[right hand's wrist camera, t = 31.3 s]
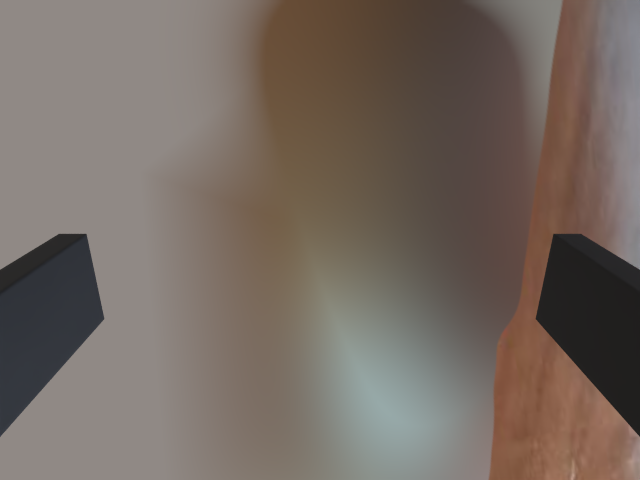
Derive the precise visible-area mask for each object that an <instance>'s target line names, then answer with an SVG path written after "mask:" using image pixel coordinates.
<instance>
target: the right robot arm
mask: <svg viewBox="0 0 640 480" xmlns="http://www.w3.org/2000/svg"><path fill="white" fill-rule="evenodd" d="M103 320H104V316H103V311H102V306H101V301H100V296H99V292H98V287H97V282H96V277H95V272H94V268H93V263H92V258H91V254H90V249H89V244H88V239H87V235H86V234H58V235H57V236H55V237H53V238H52V239H50V240H48V241H47V242H45V243H44V244H42V245H40V246H39V247H37V248H35V249H34V250H32V251H30V252H29V253H27V254H25V255H24V256H22V257H21V258H19V259H17V260H16V261H14V262H12V263H11V264H9V265H7V266H6V267H4V268H2V269H1V270H0V436H1V435H2V434H3V433H4V432H5V431H6V429H7V428H8V427H9V426H10V425H11V424H12V423H13V422H14V420H15V419H16V418H17V417H18V416H19V415H20V414H21V413H22V411H23V410H24V409H25V408H26V407H27V406H28V405H29V404H30V402H31V401H32V400H33V399H34V398H35V397H36V396H37V394H38V393H39V392H40V391H41V390H42V389H43V388H44V387H45V385H46V384H47V383H48V382H49V381H50V380H51V379H52V377H53V376H54V375H55V374H56V373H57V372H58V371H59V370H60V368H61V367H62V366H63V365H64V364H65V363H66V362H67V360H68V359H69V358H70V357H71V356H72V355H73V354H74V353H75V351H76V350H77V349H78V348H79V347H80V346H81V345H82V344H83V342H84V341H85V340H86V339H87V338H88V337H89V336H90V335H91V333H92V332H93V331H94V330H95V329H96V328H97V327H98V325H99V324H100V323H101V322H102V321H103ZM536 320H537V321H538V322H539V323H540V324H541V325H542V327H543V328H544V329H545V330H546V331H547V332H548V333H549V335H550V336H551V337H552V338H553V339H554V340H555V341H556V342H557V344H558V345H559V346H560V347H561V348H562V349H563V350H564V351H565V353H566V354H567V355H568V356H569V357H570V358H571V359H572V361H573V362H574V363H575V364H576V365H577V366H578V367H579V368H580V370H581V371H582V372H583V373H584V374H585V375H586V376H587V378H588V379H589V380H590V381H591V382H592V383H593V384H594V385H595V387H596V388H597V389H598V390H599V391H600V392H601V393H602V394H603V396H604V397H605V398H606V399H607V400H608V401H609V402H610V404H611V405H612V406H613V407H614V408H615V409H616V410H617V411H618V413H619V414H620V415H621V416H622V417H623V418H624V419H625V420H626V422H627V423H628V424H629V425H630V426H631V427H632V428H633V430H634V431H635V432H636V433H637V434H638V435H639V436H640V270H639V269H638V268H636V267H634V266H633V265H631V264H629V263H628V262H626V261H624V260H623V259H621V258H619V257H618V256H616V255H615V254H613V253H611V252H610V251H608V250H606V249H605V248H603V247H601V246H600V245H598V244H597V243H595V242H593V241H592V240H590V239H588V238H587V237H585V236H583V235H582V234H553V239H552V244H551V249H550V253H549V258H548V263H547V268H546V272H545V277H544V282H543V287H542V292H541V296H540V301H539V306H538V311H537V315H536Z"/></svg>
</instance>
